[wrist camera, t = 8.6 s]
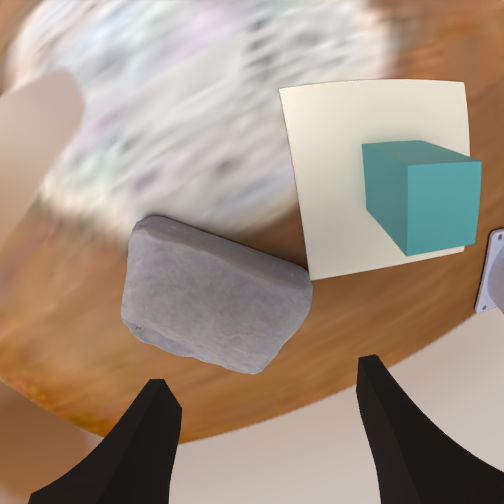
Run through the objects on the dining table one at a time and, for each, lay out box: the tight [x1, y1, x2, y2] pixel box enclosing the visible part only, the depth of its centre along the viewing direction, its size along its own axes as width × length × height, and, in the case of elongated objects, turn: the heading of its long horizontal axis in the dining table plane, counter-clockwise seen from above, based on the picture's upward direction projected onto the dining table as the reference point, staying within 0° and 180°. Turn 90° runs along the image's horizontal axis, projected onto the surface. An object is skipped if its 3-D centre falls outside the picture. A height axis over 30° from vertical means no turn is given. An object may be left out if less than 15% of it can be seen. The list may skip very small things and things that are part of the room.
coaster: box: [279, 79, 470, 281], centre depth 17 cm, size 12×12×1 cm
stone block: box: [121, 216, 313, 374], centre depth 20 cm, size 12×5×10 cm
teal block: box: [362, 140, 481, 257], centre depth 14 cm, size 4×4×6 cm
